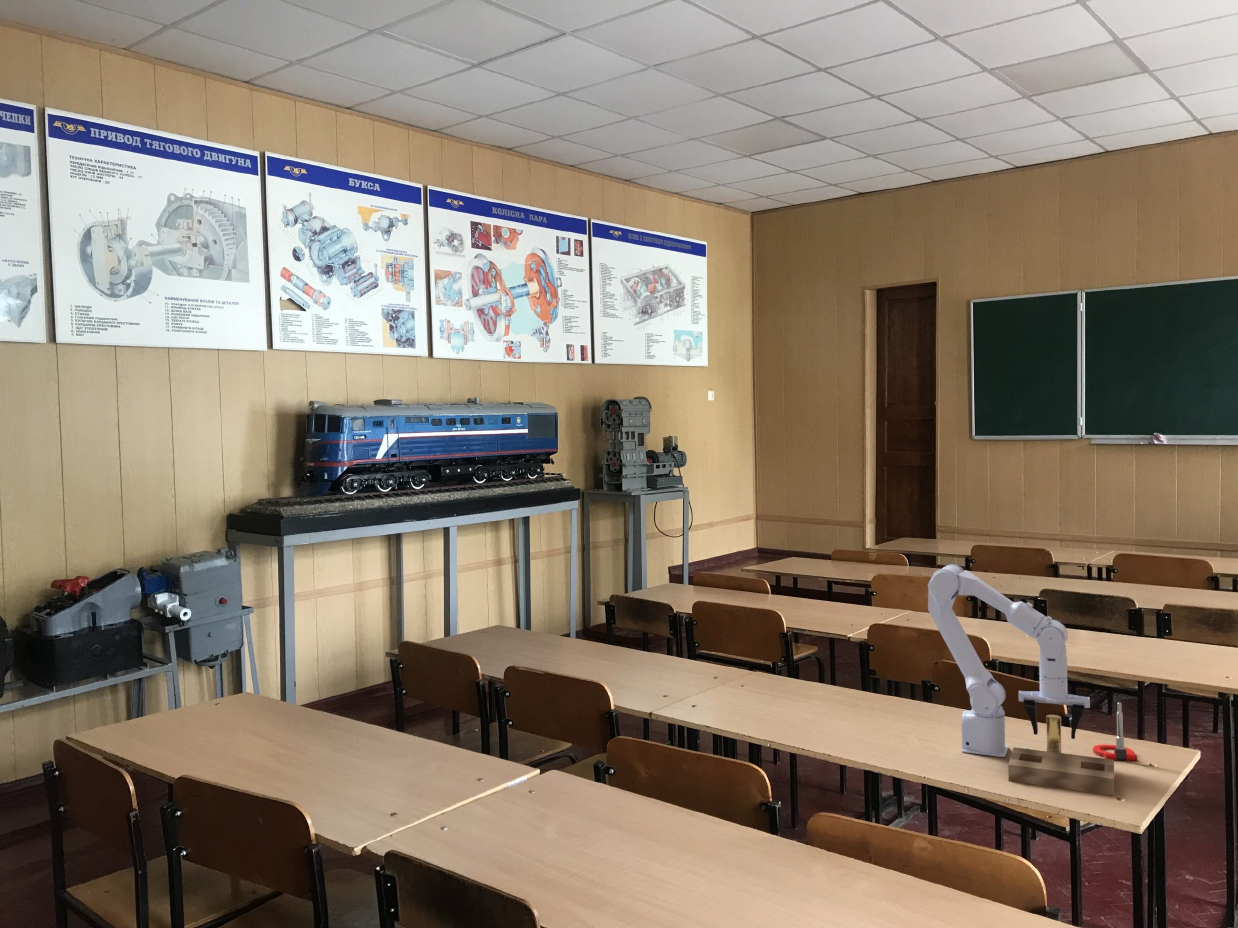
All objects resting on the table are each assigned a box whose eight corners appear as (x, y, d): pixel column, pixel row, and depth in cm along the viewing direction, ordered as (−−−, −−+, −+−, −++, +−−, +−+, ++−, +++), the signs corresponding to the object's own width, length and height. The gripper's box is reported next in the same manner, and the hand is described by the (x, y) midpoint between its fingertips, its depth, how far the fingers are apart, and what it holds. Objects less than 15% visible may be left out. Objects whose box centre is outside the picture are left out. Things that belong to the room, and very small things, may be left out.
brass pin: (1046, 761, 211) (1045, 717, 211) (1047, 757, 214) (1046, 714, 213) (1061, 763, 209) (1060, 719, 209) (1061, 759, 212) (1061, 715, 212)
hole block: (1008, 780, 200) (1008, 764, 200) (1013, 762, 211) (1013, 747, 211) (1114, 795, 191) (1113, 778, 191) (1114, 775, 201) (1113, 759, 201)
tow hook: (1087, 748, 220) (1101, 760, 211) (1086, 693, 220) (1100, 703, 211) (1126, 749, 219) (1141, 761, 209) (1125, 694, 219) (1140, 704, 210)
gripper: (1016, 677, 211) (1017, 736, 211) (1088, 683, 204) (1089, 744, 204) (1019, 669, 217) (1020, 727, 217) (1089, 675, 210) (1090, 735, 211)
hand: (1054, 735), depth 211 cm, fingers open, 7 cm apart
